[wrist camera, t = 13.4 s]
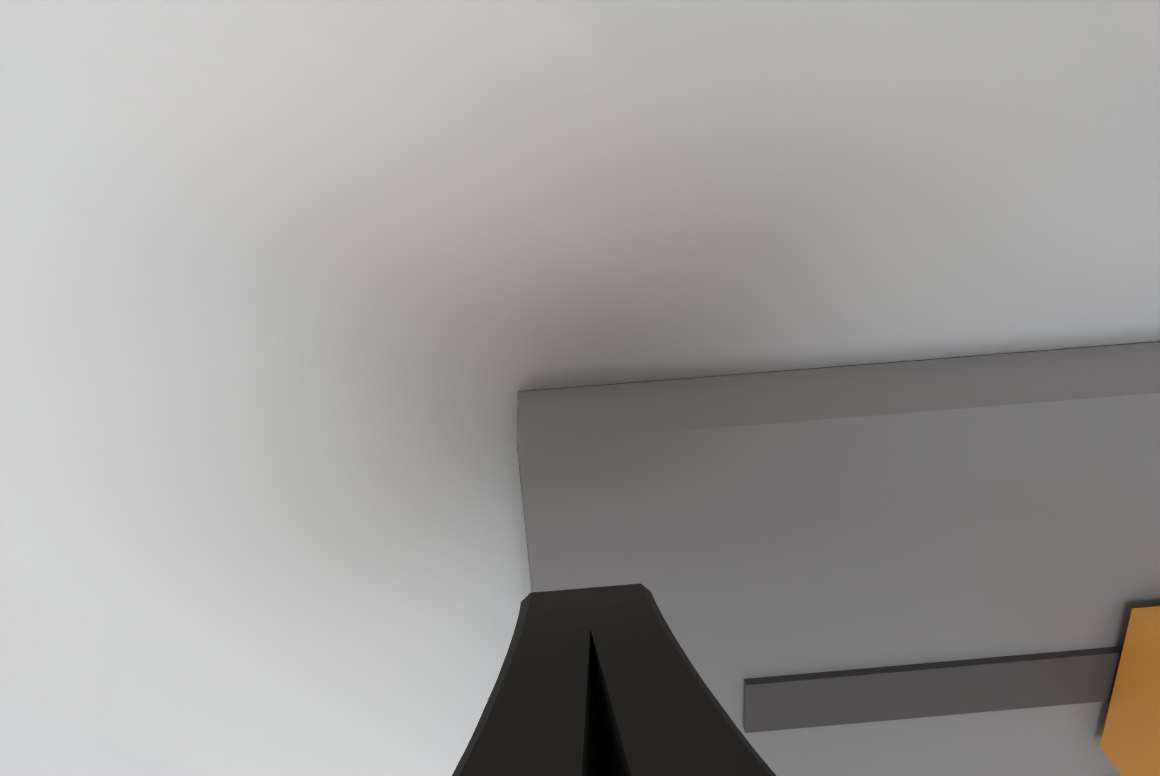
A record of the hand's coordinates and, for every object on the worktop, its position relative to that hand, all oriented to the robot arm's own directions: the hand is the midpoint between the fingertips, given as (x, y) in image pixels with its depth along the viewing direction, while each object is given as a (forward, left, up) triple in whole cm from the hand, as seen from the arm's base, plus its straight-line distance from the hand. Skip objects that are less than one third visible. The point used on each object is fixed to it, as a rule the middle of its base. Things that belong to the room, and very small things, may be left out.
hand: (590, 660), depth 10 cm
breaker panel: (-8, +8, -10) cm, 15 cm away
